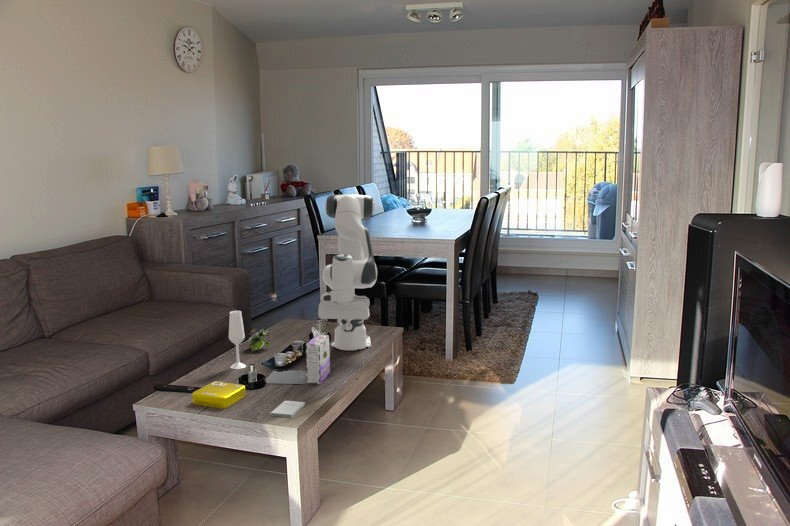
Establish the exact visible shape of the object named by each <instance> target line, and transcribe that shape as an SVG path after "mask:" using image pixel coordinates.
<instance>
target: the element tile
mask: <svg viewBox="0 0 790 526" xmlns="http://www.w3.org/2000/svg"><path fill="white" fill-rule="evenodd" d="M246 393H247V392H246V385H244V384H238V383H231V382H224V381H218V380H217V381H213V382H210V383H208V384H207V385H205V386H202V387H201V388H199V389H196V390H195V391H193V392H192V395H191V396H192V404H193V405H195V404H197V405H196V406H201V405H204V406H203V407H208V406H209V407H210V408H214V407H216V409H228V408H229V407H231V406H233V405H234V404H236V403H238V401H241V400H242V399H243V398H246V395H247V394H246ZM209 407H208V408H209Z"/></svg>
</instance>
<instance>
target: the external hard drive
mask: <svg viewBox="0 0 790 526" xmlns="http://www.w3.org/2000/svg"><path fill="white" fill-rule="evenodd" d="M304 406H306V402H305V401H296V400H295V401H293V400H283V402H281V403H280V404H279V405H278V406H277V407H275V408H274V409H273V410H272V411H271V412H270V413H269V415H270V417H272V416H273V417H281V418H290V419H291V418H293V417H294V416H295V415H296V414H297V413H298V412H299V411H300V410H302V408H304Z"/></svg>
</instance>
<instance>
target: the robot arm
mask: <svg viewBox="0 0 790 526" xmlns="http://www.w3.org/2000/svg"><path fill="white" fill-rule="evenodd" d="M324 210H325V213H326V215H327V217H329V218H330V219H334V227H335V231H336V233H337V250H338V252H339V254H336V255H334V256H333V258H332V263H331V264H327V265H326V266H325V267H324V269H323V271H322V280H323V282H324V284H325V286H328V287H329V288H330V290H329V291H327V292H324V293H323V294H321V295H320V302H319V304H318V311H317V314H318V317H319V319H324V320H325V319H326V320H328V319H329V320H330V319H332V320H336V322H337V326H336V327H335V328H334V341H333V342H332V343H331V346H330V347H334V348H336V349H337V350H342V351H358V349H359V350H363V349H367V348H366V347H368V348H371V347H372V343H371V337H370V336H368V335H367V329H366V327H365V324H364V320H368V319H369V317H370V308H369V307H370V303H371V302H370V298H369V297H367V296H366V295H357V294H355V289H368V288H372V287H373V286H374V285H375V284H376V282H377V280H378V279H377V278H378V267H377V264H376V262H375V258H374V252H373V246H372V240H371V237H370V232H369V230H368V228H367V227H366V226H365V225H363V223H362V221H363V222H366V221H367V219H370V218H371V217H372V216H373V214H374V213H375V210H376V204H375V201H374V198H373V197H372V196H371V195H368V194H364V195H363V194H358V193H357V194H356V193H350V194H349V193H348V194H347V193H346V194H331V195H330V194H329V196H327V197H326V200H325V203H324ZM362 219H364V220H362Z"/></svg>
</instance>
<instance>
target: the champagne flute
mask: <svg viewBox="0 0 790 526" xmlns="http://www.w3.org/2000/svg"><path fill="white" fill-rule="evenodd" d="M228 322H229V323H228V339H229V341H230V342H231V343H233V344H234V345H235V355H236V362H235V363H233V364H232V365H231V366H230V367H229V368H230V369H231V370H241V369H244V368H246V367H247V365H246V364H244V363H242V362H240V348H239V345H241V344H242V342H243V341H244V340H245V337H246V336H245V329H244V322H243V316H242V310H232V311H230V312H229V321H228Z"/></svg>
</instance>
